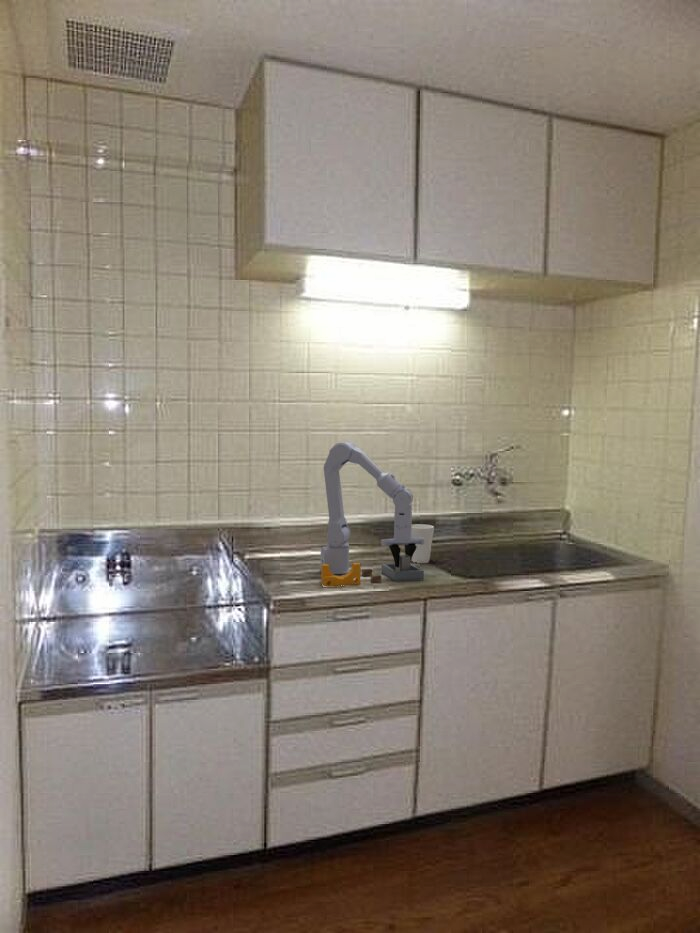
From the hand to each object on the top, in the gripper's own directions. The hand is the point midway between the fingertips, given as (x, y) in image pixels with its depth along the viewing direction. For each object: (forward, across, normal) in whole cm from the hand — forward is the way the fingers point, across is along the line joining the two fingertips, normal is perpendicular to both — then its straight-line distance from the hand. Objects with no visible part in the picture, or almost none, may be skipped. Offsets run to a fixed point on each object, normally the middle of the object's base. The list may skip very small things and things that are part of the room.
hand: (402, 566), depth 218 cm
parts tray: (+3, 0, 0) cm, 3 cm away
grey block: (+2, 0, 0) cm, 2 cm away
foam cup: (+3, +15, +21) cm, 26 cm away
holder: (+3, -11, -1) cm, 11 cm away
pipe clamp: (+4, -23, -6) cm, 24 cm away
